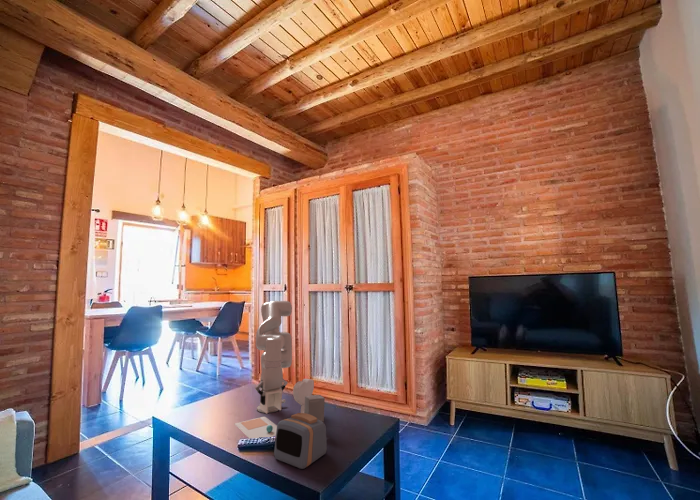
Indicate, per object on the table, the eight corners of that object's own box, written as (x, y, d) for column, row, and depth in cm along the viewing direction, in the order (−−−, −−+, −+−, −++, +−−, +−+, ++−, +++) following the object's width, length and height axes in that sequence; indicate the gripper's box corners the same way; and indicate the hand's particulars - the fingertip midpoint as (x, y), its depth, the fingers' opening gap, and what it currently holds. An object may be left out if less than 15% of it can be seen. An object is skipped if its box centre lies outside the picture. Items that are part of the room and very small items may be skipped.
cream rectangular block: (274, 405, 160) (275, 386, 160) (281, 410, 154) (282, 390, 155) (259, 408, 155) (260, 388, 156) (266, 413, 149) (267, 393, 150)
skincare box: (307, 435, 151) (309, 400, 153) (302, 429, 157) (303, 395, 159) (324, 432, 155) (325, 397, 157) (318, 426, 161) (320, 393, 163)
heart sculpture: (306, 409, 183) (307, 376, 185) (314, 411, 181) (315, 377, 183) (290, 419, 169) (292, 383, 171) (298, 421, 167) (300, 384, 169)
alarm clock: (271, 459, 130) (273, 417, 131) (298, 443, 143) (299, 405, 145) (303, 472, 121) (304, 427, 123) (328, 454, 135) (329, 413, 137)
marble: (271, 430, 155) (271, 423, 155) (273, 432, 152) (274, 425, 153) (265, 431, 153) (265, 425, 153) (267, 434, 150) (268, 427, 151)
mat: (264, 417, 171) (264, 416, 171) (288, 435, 151) (288, 433, 151) (233, 424, 161) (233, 423, 161) (254, 445, 141) (255, 443, 141)
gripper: (285, 360, 165) (283, 396, 163) (252, 364, 154) (250, 403, 152) (292, 363, 159) (291, 400, 157) (258, 368, 148) (256, 408, 146)
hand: (270, 401), depth 155 cm, fingers closed on cream rectangular block, 7 cm apart
